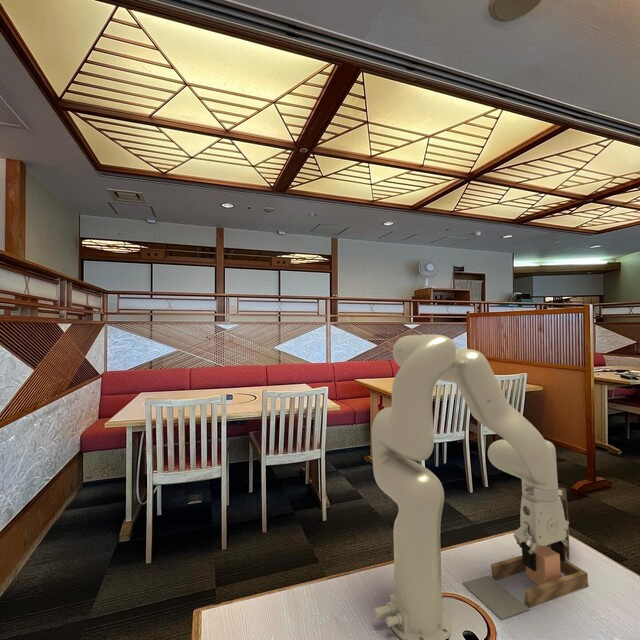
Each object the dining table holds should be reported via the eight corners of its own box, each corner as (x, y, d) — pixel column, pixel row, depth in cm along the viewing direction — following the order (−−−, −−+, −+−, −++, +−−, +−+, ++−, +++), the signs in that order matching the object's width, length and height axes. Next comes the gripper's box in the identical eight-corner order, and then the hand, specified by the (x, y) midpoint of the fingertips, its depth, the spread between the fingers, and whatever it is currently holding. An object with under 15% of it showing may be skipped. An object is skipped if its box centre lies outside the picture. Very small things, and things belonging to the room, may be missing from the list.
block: (546, 590, 77) (544, 558, 78) (526, 575, 82) (525, 546, 82) (561, 584, 79) (559, 554, 79) (541, 571, 84) (539, 542, 84)
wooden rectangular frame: (529, 607, 72) (528, 593, 72) (491, 576, 81) (491, 564, 82) (588, 586, 78) (587, 573, 78) (547, 560, 88) (546, 548, 88)
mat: (501, 620, 69) (501, 618, 69) (462, 583, 79) (462, 582, 79) (529, 610, 71) (529, 608, 71) (488, 576, 82) (488, 574, 82)
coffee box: (570, 564, 86) (566, 500, 87) (540, 554, 90) (537, 493, 91) (570, 547, 93) (567, 488, 94) (542, 538, 97) (540, 482, 98)
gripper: (528, 504, 75) (532, 582, 74) (579, 491, 81) (584, 563, 80) (500, 490, 82) (504, 561, 81) (549, 479, 88) (554, 545, 87)
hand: (544, 562), depth 81 cm, fingers open, 9 cm apart
